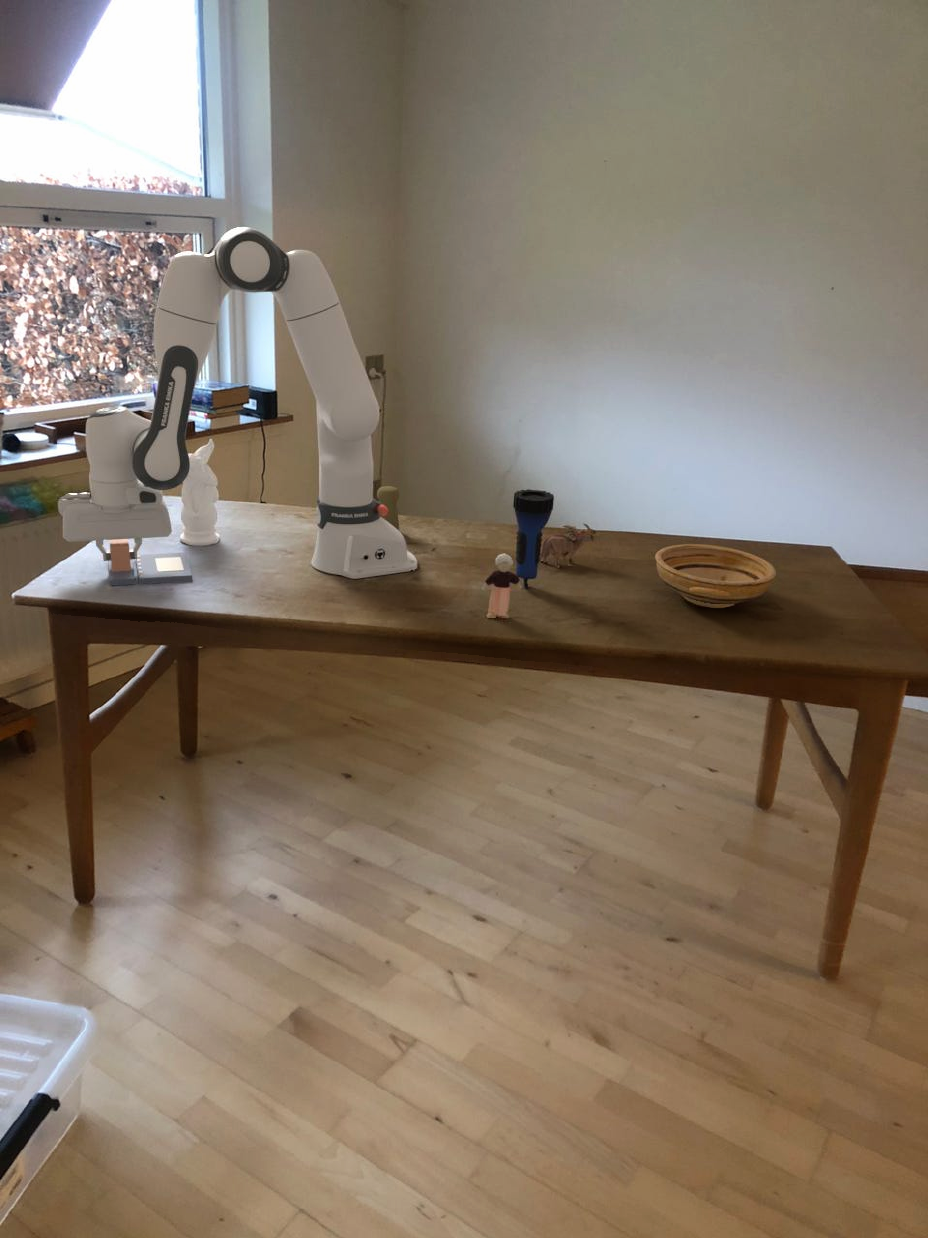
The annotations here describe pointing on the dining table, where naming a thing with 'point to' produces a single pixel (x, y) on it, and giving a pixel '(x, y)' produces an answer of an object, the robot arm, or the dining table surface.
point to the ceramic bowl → (714, 573)
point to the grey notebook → (163, 568)
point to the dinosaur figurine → (566, 544)
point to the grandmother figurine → (501, 587)
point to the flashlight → (530, 529)
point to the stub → (120, 563)
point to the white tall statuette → (200, 500)
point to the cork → (389, 504)
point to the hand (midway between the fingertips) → (120, 559)
